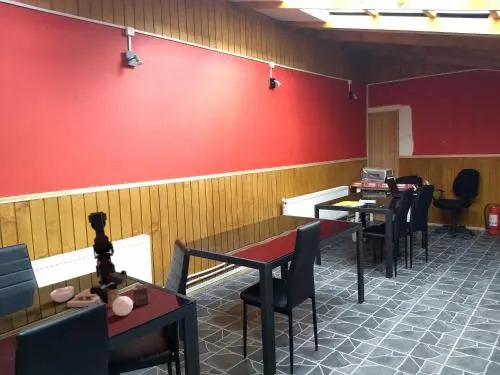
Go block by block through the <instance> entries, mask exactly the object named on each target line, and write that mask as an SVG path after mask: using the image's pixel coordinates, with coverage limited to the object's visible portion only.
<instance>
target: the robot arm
mask: <svg viewBox="0 0 500 375" xmlns="http://www.w3.org/2000/svg"><path fill="white" fill-rule="evenodd" d="M87 219H88V223H89V224H90V227H91V229H92V230H94V231H95V237H94V239H93V243H94V244H92V249H93V255H94V256H93V257H94V260H96V259H97V260H96V265H95V270H96V277H97V278H99V281H98V284H95V285H93V286H91V287H90V294H97V295H98V296H99V297H100V299H101V300H102V301H103V303H106V304H107V305H108V295H107V293H108V292H109V291H110V290H107V289H119V286H122V285H123V284H124V283H125V282H126V279H127V278H128V272H127V271H126V270H124V269H122V270H121V271H119V272H116V264H114V262H112V257H113V256H114V254H115V250H114V244H113V243H112V241H110V239H109V236H108V235H106V232H105V227H106V226H107V222H106V221H107V220H108V217H107V212H104V211H103V210H101V211H95V212H90V213H89V215H87Z"/></svg>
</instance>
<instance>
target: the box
mask: <svg viewBox="0 0 500 375" xmlns="http://www.w3.org/2000/svg"><path fill="white" fill-rule="evenodd" d="M150 288H151V287H150V284H149V283H144V284H136V285H135V286H134V288H133V289H132V292H133V298H134V299H133V300H134V305H135V306H143V305H149V304H150V302H151V301H152V294H151V289H150Z"/></svg>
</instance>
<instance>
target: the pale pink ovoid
mask: <svg viewBox="0 0 500 375" xmlns="http://www.w3.org/2000/svg"><path fill="white" fill-rule="evenodd" d="M133 305H135V300H134V299H131V298H130V296H125V295H122V296H121V295H120V296H119V297H118V298H117V299H116V300H115V301H114V303H113V307H112V311H113V312H114V314H115V315H116V316H120V317H124V316H127V315H128V314H129V313H131V311H132V309H133V308H134V306H133Z"/></svg>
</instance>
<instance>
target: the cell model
mask: <svg viewBox="0 0 500 375" xmlns="http://www.w3.org/2000/svg"><path fill="white" fill-rule="evenodd" d="M49 296H50V297H51V299H52V300H53V301H55V302H56V303H64V302H68V301H70V299H71V298H72V297H74V296H75V287H74V286H71V285H70V286H66V287H61V288H60V287H59V288H56V289H54V290H53V291H52V292H51V293H50V294H49Z"/></svg>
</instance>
